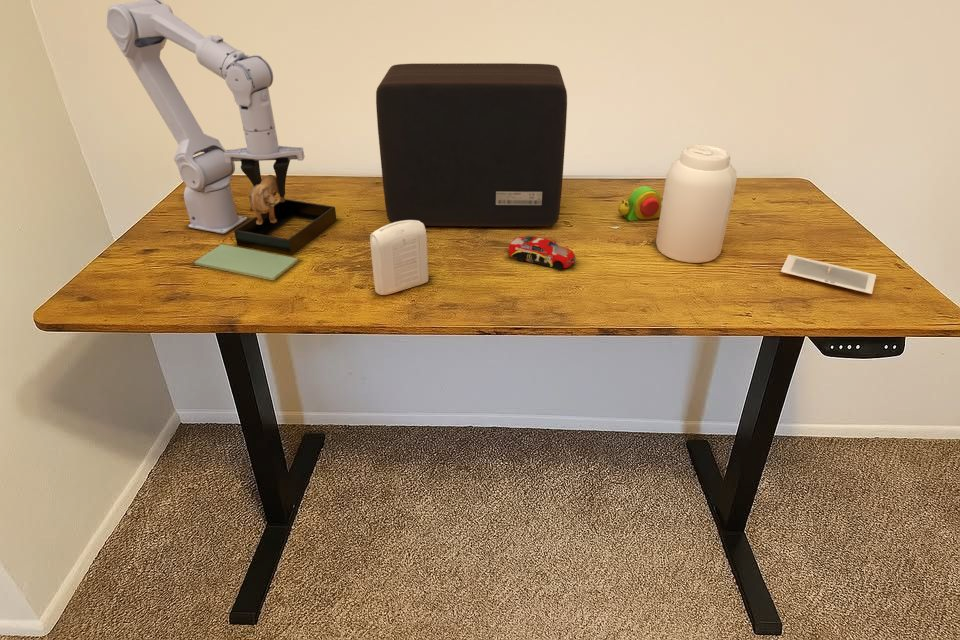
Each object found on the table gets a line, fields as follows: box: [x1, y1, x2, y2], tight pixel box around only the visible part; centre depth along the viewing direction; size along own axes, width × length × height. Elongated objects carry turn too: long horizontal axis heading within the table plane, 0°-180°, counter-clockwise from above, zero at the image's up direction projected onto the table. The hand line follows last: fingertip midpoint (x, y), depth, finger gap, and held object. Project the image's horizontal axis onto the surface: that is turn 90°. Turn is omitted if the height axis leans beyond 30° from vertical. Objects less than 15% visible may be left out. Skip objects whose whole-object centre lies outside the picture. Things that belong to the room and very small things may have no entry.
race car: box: [507, 235, 576, 271], centre depth 124 cm, size 13×5×4 cm, turn 63°
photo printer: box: [369, 220, 429, 296], centre depth 114 cm, size 10×4×12 cm, turn 123°
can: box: [655, 144, 738, 264], centre depth 123 cm, size 12×12×20 cm
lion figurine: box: [248, 174, 286, 225], centre depth 125 cm, size 15×5×9 cm, turn 10°
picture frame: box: [233, 198, 338, 256], centre depth 135 cm, size 13×17×3 cm
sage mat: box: [193, 243, 299, 282], centre depth 125 cm, size 18×8×1 cm, turn 70°
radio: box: [375, 62, 568, 228], centre depth 135 cm, size 36×18×30 cm, turn 88°
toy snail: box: [617, 185, 662, 222], centre depth 141 cm, size 6×19×7 cm, turn 108°
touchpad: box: [780, 254, 877, 295], centre depth 118 cm, size 8×15×2 cm, turn 58°
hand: (272, 195), depth 128 cm, fingers closed on lion figurine, 3 cm apart
